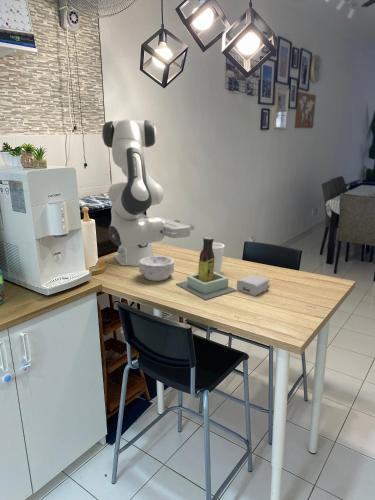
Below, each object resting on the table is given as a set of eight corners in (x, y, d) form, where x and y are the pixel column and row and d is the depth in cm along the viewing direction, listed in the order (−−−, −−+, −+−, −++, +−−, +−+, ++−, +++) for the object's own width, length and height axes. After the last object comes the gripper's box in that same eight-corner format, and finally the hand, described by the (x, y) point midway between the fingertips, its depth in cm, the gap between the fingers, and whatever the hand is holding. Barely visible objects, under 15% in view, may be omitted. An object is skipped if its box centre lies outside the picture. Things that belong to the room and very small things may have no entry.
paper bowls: (168, 270, 179) (168, 253, 177) (178, 281, 165) (178, 263, 163) (136, 273, 175) (135, 256, 172) (143, 285, 161) (143, 267, 158)
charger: (275, 286, 161) (256, 296, 150) (256, 280, 167) (236, 290, 156) (276, 275, 159) (256, 285, 149) (257, 270, 165) (237, 279, 155)
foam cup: (198, 272, 177) (199, 244, 173) (214, 268, 182) (214, 241, 178) (212, 277, 169) (213, 249, 166) (227, 273, 175) (228, 246, 171)
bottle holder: (187, 285, 160) (187, 276, 159) (210, 279, 167) (210, 270, 166) (204, 294, 151) (204, 284, 150) (228, 287, 158) (228, 277, 157)
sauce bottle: (208, 288, 156) (212, 240, 151) (194, 285, 158) (197, 238, 153) (215, 284, 161) (218, 237, 156) (201, 281, 164) (204, 235, 159)
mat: (175, 284, 162) (175, 283, 162) (205, 276, 171) (205, 275, 171) (205, 300, 146) (205, 299, 146) (236, 290, 155) (236, 289, 155)
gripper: (170, 226, 128) (202, 221, 136) (140, 216, 144) (170, 212, 152) (170, 244, 130) (202, 238, 138) (140, 232, 146) (171, 227, 154)
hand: (185, 224), depth 145 cm, fingers open, 8 cm apart
